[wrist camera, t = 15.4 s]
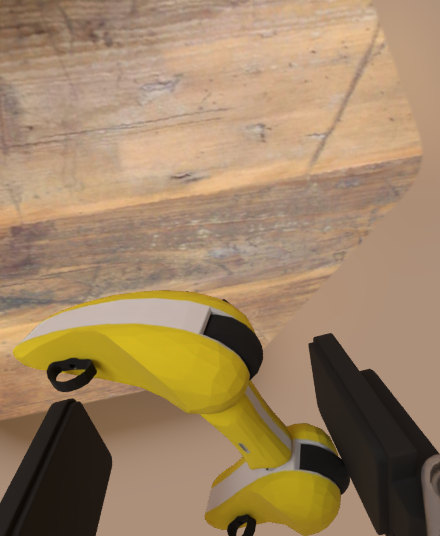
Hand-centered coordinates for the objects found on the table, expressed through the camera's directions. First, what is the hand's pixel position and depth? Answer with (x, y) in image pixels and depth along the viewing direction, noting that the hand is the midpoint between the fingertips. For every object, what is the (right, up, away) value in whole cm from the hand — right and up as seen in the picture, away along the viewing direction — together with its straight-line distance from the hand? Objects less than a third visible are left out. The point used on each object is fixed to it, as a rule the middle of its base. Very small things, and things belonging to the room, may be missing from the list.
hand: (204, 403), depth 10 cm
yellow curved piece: (0, 0, +1) cm, 1 cm away
